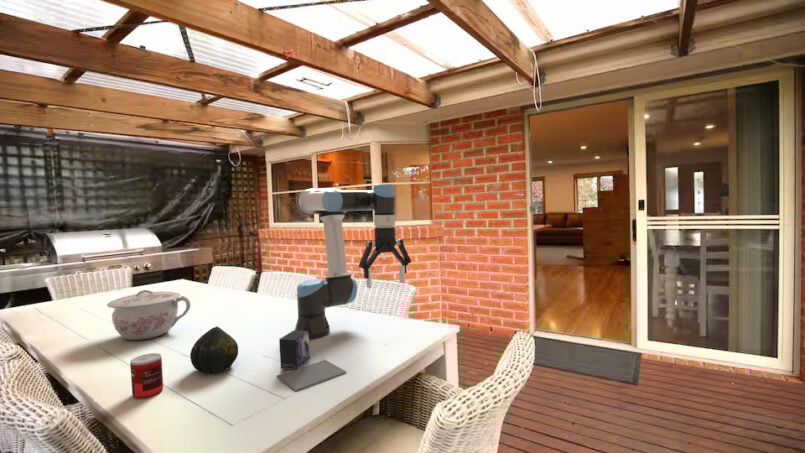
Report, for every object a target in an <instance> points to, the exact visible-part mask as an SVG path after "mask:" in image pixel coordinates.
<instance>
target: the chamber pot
mask: <svg viewBox="0 0 805 453" xmlns="http://www.w3.org/2000/svg"><path fill="white" fill-rule="evenodd" d="M181 301H182V302H185V306H186V307H185V310H184V311H183V312H182V314H179V315H178V312H179V303H180V302H181ZM106 306H107V307H108V308H112V309H114V310H113V311H112V314H111V322H112V324H113V327H114V330H115V331H116V332H117V333H118V334H119V335H120V336H121V338H123V339H124V340H128V341H143V340H149V339H154V338H157V337H160V336H162V335H165V334H166V333H168V332H169V331H171V329H172V328H173V327H174V326H175V325H176V323H177V322H178V321H179V320H180V319H181V318H183V317H185V316H186V315H187V313H188V312H189V311H190V309H191V307H192V306H191V301H190V299H189V298H188V297H186V296H185V295H182V294H180V293H178V292H173V291H151V290H150V289H144V290H140V291H138V292H137V293H136V294H131V295H130V294H129V295H126V296H123V297H119V298H116V299H113V300H111V301H109V302H108V303H106Z"/></svg>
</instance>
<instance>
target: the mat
mask: <svg viewBox="0 0 805 453" xmlns="http://www.w3.org/2000/svg"><path fill="white" fill-rule="evenodd" d="M345 374H347V370H344V369H342V368H341V367H339V366H338V365H336V364H334V363H332V362H330V361H329V360H327V359H323V360H318V361H316V362H314V363H310V364H308V365H304V366H300V367H299V368H298V369H290V370H289V371H285V372H283V373H280V374H278V375H276V378H277V379H279V380H280V381H281V382H283V383H284V384H285V385H286V386H287V387H289V388H290V389H291V390H292V391H294V392H299V391H301V390H305V389H307V388H310V387H313V386H316V385H318V384H322V383H323V382H326V381H329V380H331V379H334V378H336V377H339V376H343V375H345Z"/></svg>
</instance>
